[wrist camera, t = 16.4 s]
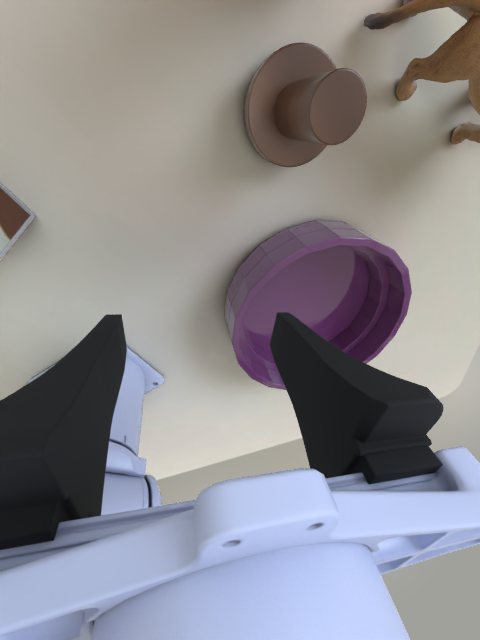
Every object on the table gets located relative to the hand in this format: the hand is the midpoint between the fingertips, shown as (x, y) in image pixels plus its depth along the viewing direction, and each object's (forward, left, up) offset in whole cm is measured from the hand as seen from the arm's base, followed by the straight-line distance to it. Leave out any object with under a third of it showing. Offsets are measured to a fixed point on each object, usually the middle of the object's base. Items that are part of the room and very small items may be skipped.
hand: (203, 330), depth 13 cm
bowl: (+6, -10, -10) cm, 16 cm away
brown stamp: (+10, +4, -10) cm, 15 cm away
